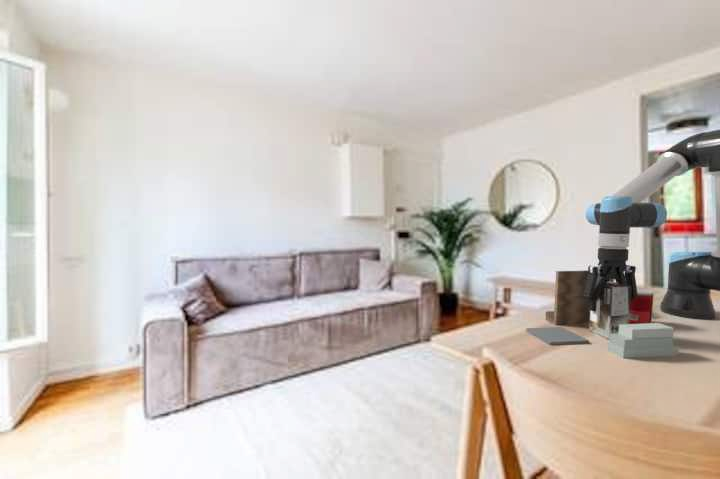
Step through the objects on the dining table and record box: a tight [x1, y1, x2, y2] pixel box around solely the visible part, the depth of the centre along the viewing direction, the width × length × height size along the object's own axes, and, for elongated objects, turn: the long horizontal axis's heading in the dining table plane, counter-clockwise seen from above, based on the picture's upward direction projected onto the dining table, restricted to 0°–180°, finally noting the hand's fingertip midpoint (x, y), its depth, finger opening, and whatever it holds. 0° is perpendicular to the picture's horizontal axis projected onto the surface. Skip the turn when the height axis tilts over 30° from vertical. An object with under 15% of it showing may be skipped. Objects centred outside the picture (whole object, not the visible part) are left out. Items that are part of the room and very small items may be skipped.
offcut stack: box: [607, 322, 680, 359], centre depth 96 cm, size 16×5×8 cm, turn 96°
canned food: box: [629, 288, 654, 324], centre depth 121 cm, size 8×8×11 cm
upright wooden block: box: [545, 270, 615, 326], centre depth 122 cm, size 20×6×18 cm, turn 96°
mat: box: [525, 326, 590, 346], centre depth 108 cm, size 12×12×1 cm
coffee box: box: [588, 281, 632, 341], centre depth 109 cm, size 9×6×16 cm
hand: (608, 320), depth 109 cm, fingers open, 9 cm apart
